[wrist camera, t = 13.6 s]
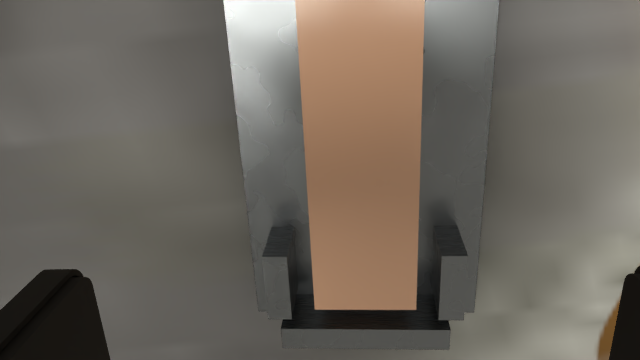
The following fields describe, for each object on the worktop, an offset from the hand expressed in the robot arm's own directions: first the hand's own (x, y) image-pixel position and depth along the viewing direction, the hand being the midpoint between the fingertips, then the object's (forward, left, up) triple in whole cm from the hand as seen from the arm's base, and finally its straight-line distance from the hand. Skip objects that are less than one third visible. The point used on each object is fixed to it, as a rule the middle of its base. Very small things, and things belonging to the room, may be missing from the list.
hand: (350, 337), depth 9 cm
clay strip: (0, 0, -13) cm, 13 cm away
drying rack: (+1, 0, -14) cm, 14 cm away
